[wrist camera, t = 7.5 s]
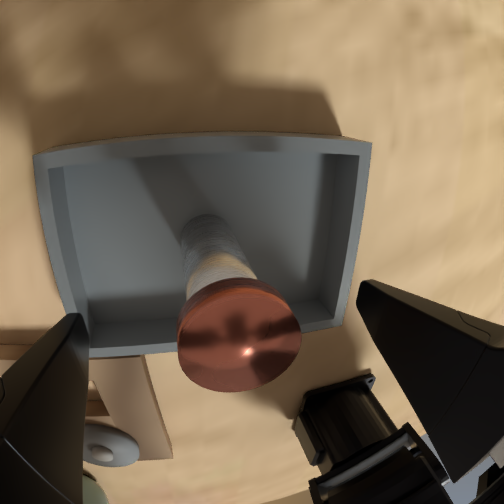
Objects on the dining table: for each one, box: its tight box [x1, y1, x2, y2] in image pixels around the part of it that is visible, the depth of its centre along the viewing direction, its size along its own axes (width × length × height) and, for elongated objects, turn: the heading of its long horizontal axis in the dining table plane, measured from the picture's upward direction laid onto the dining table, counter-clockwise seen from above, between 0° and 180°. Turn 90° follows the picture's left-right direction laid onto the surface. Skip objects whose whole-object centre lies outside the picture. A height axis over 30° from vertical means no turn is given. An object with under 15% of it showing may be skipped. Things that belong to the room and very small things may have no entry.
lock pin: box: [176, 214, 302, 392], centre depth 11 cm, size 3×3×8 cm
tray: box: [33, 131, 372, 358], centre depth 14 cm, size 14×10×2 cm
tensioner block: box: [0, 345, 173, 467], centre depth 17 cm, size 10×12×3 cm
